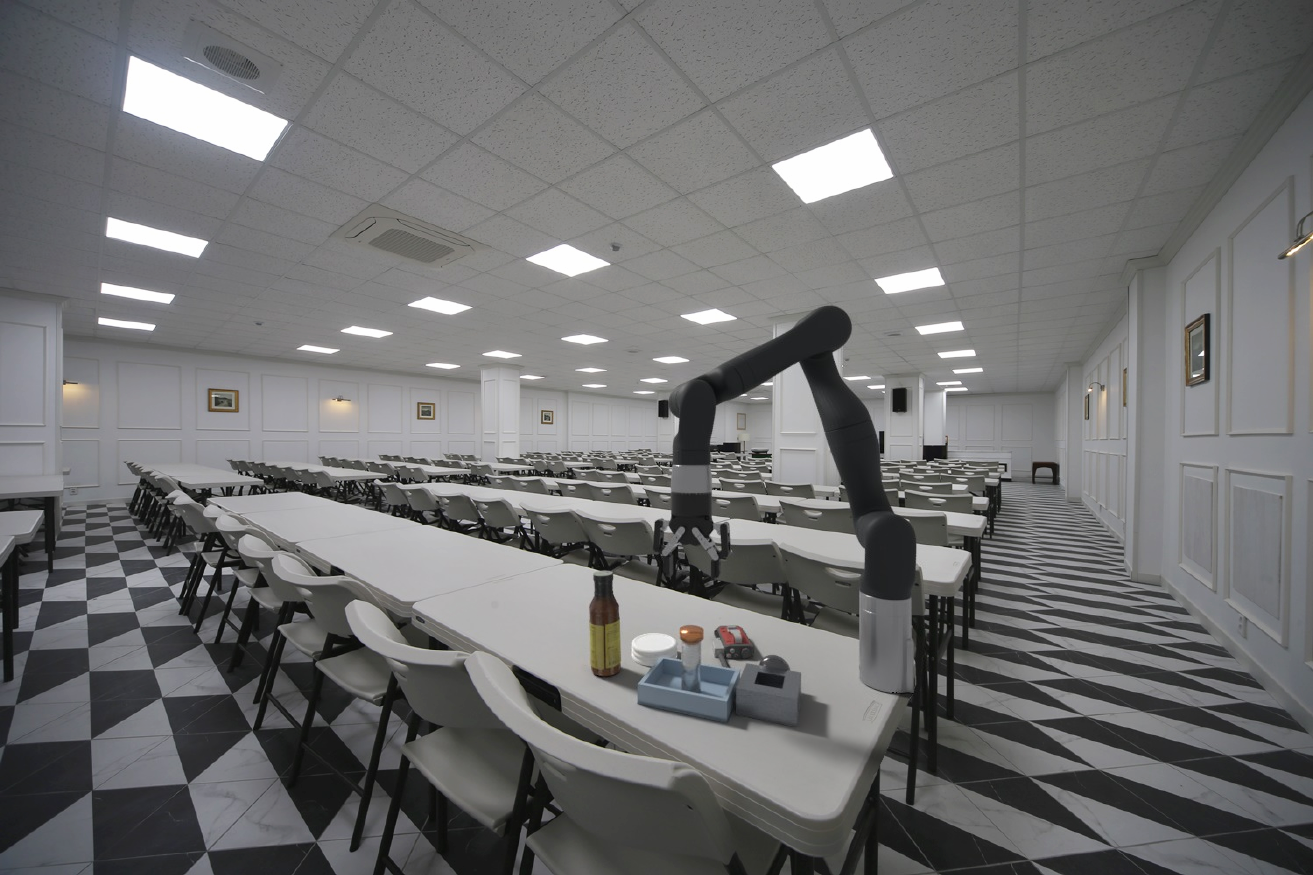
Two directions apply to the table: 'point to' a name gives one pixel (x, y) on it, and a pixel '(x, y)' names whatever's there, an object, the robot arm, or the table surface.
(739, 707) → the block
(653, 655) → the white round disc stack
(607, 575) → the sauce bottle
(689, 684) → the lock pin
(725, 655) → the walkie-talkie
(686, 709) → the tray
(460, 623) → the table surface
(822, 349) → the robot arm
